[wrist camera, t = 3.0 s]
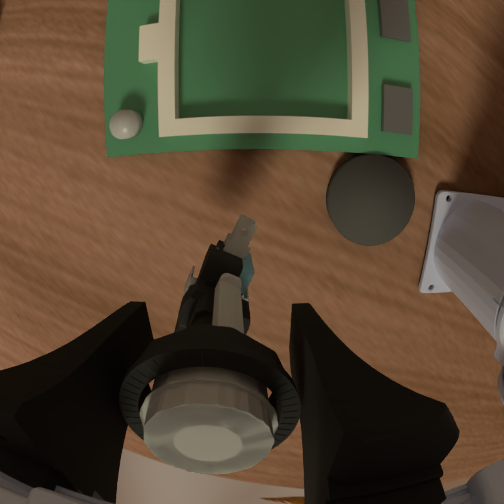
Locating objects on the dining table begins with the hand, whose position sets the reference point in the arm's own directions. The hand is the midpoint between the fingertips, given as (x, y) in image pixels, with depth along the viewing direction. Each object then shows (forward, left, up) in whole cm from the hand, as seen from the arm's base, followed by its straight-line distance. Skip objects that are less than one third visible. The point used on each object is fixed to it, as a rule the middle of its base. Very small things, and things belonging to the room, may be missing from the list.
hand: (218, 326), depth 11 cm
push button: (+1, +1, -6) cm, 6 cm away
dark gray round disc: (-9, -2, -11) cm, 14 cm away
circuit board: (-2, -12, -10) cm, 16 cm away
